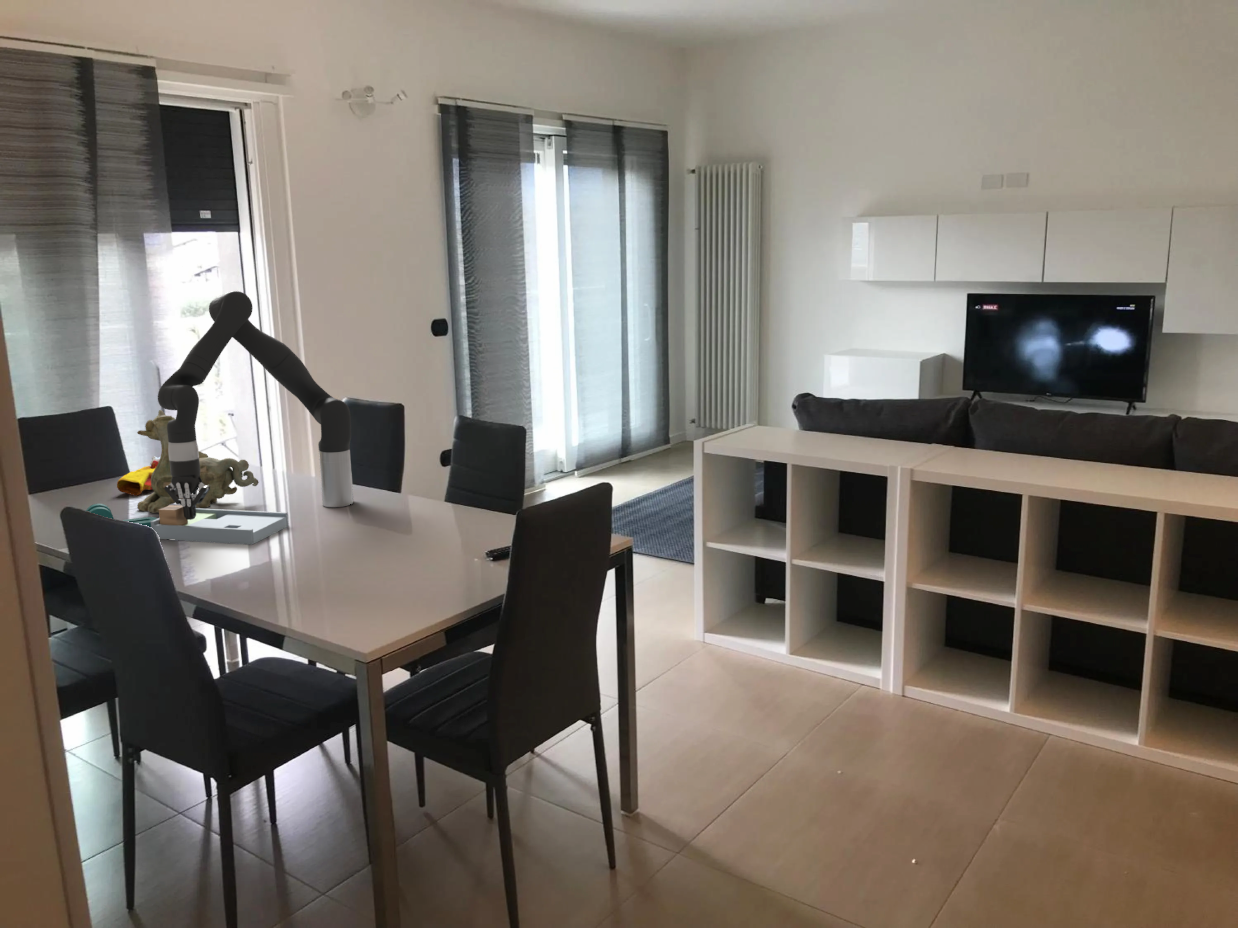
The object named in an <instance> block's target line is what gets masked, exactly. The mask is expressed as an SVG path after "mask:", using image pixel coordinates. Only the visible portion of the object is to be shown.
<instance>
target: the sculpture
mask: <svg viewBox="0 0 1238 928" xmlns="http://www.w3.org/2000/svg"><path fill="white" fill-rule="evenodd" d="M174 419H176V417H173V416H172V415H168V414H167V415H166V414H165V412H164V411H163V410H162V409H160V410H158V414H157V416H156V417H154V418H153V419H149V420H147V421H146V423H145V426H144V427H145V430H138V431H137V432H136V433H137V434H138V435H141V436H143V437H145V436H146V437H147V438H149V439H150V440H154V441H160V445H161V454H160V456H161V457H160V456H159V457H160V460H159V463H158V465H157V467H156V469H155V470H154V471H153V473H152V476H151V487H152V491H153V492H152V493H151V494H149V495H148V496H146V497H145V498H144V499H143V500H141V501H138V503H137V506H136V507H137V510H139V511H142V512H149V513H151V514H159V509H161V508H164V507H167V506H169V505H174V504H176V503H175V502H174V500H173V499H172V498H171V497H170V495H169V494H168V493H167V492H166V490H165V489H164V488H165V486H168V485H169V484H170V483H171V479H172V475H171V472H170V462H169V453H168V446H169V444H168V432H167V424H168V422H169V421H171V420H174ZM198 451H199V461H200V478H201V479H202V483H203V484H204V485H205V486H210V490H209V491H208V493H207V494H206V496H205V497H204V499H203V500H202V502H201V503H198V504H196V508H203V509H207V508H209V507H210V506H211V504H213V503H215V502H217V501H218V500H220V499H222V498H224V497H225V495H230V496H231V495H233V494H236V493H237V490H238V487H240V488H245V487H248V486H251V485H252V486H253V487H257V486H258V485H259V483H260V481H259V479H257V478H256V477H255V476H254V473H253V472H252V471H250V470H248V469H249V466H250V465H249V462H248V461H247V460H246V459H240V460H239V461H238V460H237V459H235V458H231V457H227V458H223V459H218V458H215V457H209V456H208V454H206V453H204V452H202V451H200V450H198ZM245 476H246V478H245V479H243V477H245ZM233 482H234V484H235V486H234V487H231V486H230V485H231V484H232V483H233ZM237 486H238V487H237Z"/></svg>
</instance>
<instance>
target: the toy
mask: <svg viewBox="0 0 1238 928" xmlns="http://www.w3.org/2000/svg"><path fill="white" fill-rule="evenodd" d="M160 457H161V455H160V456H159V457H157V456H155V455H153V456H152V457H151V461H150V464H149V465H147V466H143V467H141V468H138V469H136V470H135V471H134V470H132V471H130V472H128V473H126V474H124V475H123V476H122V477H120V478H118V480H117V482H116V488H117V490H118V491H119V492H120V493H124V494H128V495H131V496H134V497H137V496H140V495H142V492H143V491H144V490H149V491H153V489H152V487H151V476H152V473H153V471H154V470H155V469H156V467H157V465H158V463H159V460H160Z"/></svg>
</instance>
